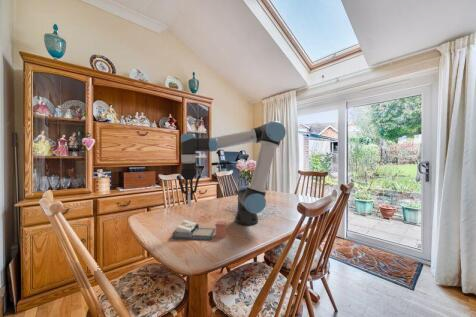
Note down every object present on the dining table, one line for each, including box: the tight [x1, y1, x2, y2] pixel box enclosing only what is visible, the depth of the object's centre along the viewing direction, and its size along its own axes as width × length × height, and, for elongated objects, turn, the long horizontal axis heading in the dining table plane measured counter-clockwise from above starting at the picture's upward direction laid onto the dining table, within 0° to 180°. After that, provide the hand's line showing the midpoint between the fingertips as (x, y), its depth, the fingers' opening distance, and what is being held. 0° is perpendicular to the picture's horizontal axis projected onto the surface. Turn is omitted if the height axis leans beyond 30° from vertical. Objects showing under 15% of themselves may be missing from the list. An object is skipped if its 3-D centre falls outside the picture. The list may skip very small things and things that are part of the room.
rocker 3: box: [180, 223, 194, 230], centre depth 109 cm, size 7×3×3 cm, turn 86°
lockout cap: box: [215, 220, 227, 238], centre depth 108 cm, size 5×5×7 cm
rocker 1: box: [175, 224, 192, 233], centre depth 105 cm, size 7×3×3 cm, turn 86°
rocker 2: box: [181, 219, 197, 228], centre depth 113 cm, size 7×3×3 cm, turn 86°
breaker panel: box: [171, 223, 216, 241], centre depth 109 cm, size 20×13×3 cm, turn 86°
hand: (189, 205), depth 109 cm, fingers closed
